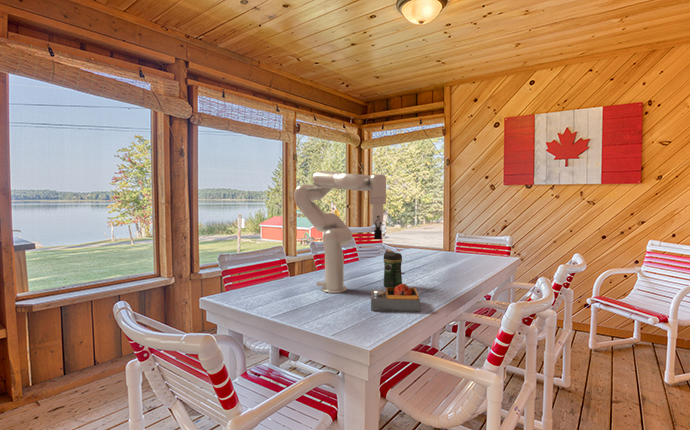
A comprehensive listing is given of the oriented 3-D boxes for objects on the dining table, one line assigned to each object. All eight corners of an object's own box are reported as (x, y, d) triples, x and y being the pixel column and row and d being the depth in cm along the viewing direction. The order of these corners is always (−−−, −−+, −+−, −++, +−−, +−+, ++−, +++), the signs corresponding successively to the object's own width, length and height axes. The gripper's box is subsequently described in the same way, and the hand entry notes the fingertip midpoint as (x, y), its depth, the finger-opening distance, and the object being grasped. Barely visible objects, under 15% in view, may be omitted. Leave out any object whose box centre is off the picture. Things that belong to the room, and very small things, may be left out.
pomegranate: (393, 294, 153) (388, 295, 144) (402, 280, 153) (397, 281, 144) (408, 303, 151) (403, 306, 141) (416, 289, 150) (412, 291, 141)
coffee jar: (404, 287, 181) (404, 252, 180) (394, 290, 176) (394, 254, 176) (391, 284, 189) (391, 250, 188) (380, 286, 184) (380, 251, 183)
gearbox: (371, 310, 144) (371, 295, 143) (371, 301, 158) (371, 286, 157) (420, 311, 142) (420, 296, 142) (415, 301, 156) (416, 287, 156)
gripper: (370, 201, 170) (370, 235, 171) (369, 201, 153) (369, 240, 154) (385, 201, 170) (385, 236, 170) (386, 201, 152) (386, 240, 153)
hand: (377, 237), depth 162 cm, fingers open, 9 cm apart
